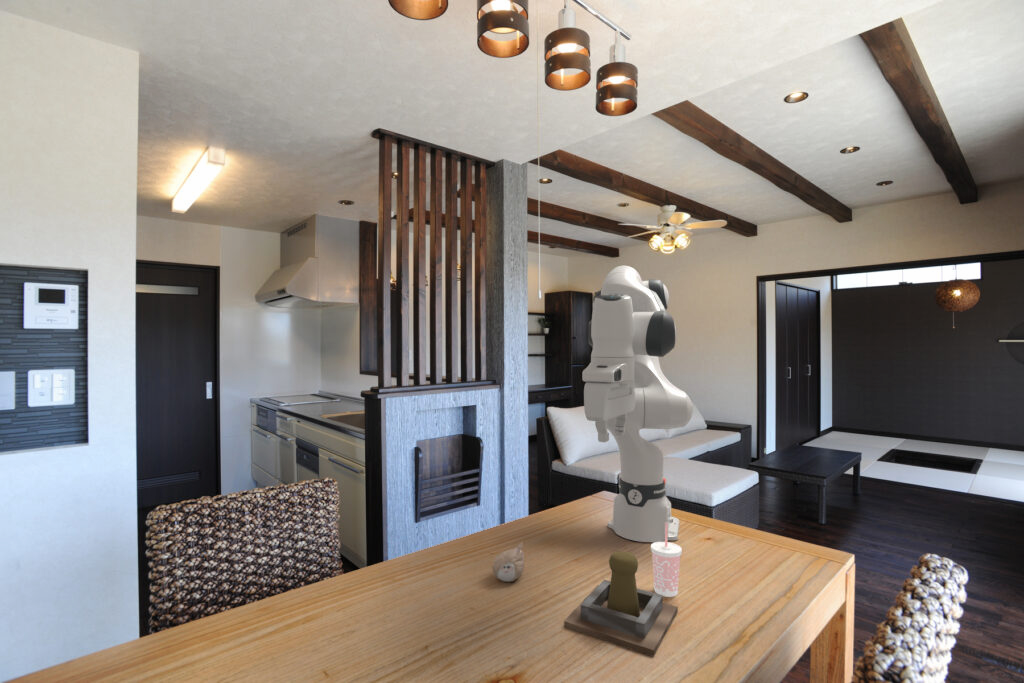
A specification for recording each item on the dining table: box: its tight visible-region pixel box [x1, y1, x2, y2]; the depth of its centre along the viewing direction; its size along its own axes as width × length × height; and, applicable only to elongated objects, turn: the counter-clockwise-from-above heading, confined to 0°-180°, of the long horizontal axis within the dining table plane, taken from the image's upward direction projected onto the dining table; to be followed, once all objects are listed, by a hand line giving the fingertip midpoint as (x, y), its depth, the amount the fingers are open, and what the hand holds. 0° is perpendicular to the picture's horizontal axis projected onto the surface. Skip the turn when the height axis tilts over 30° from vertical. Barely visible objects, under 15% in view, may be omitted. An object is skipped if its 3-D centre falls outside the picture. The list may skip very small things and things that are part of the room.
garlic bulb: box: [492, 541, 525, 583], centre depth 107 cm, size 7×6×8 cm
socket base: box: [563, 579, 679, 657], centre depth 92 cm, size 16×16×4 cm
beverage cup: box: [650, 522, 683, 598], centre depth 103 cm, size 6×6×14 cm
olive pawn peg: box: [607, 550, 640, 617], centre depth 92 cm, size 6×6×11 cm
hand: (611, 438), depth 104 cm, fingers open, 8 cm apart
